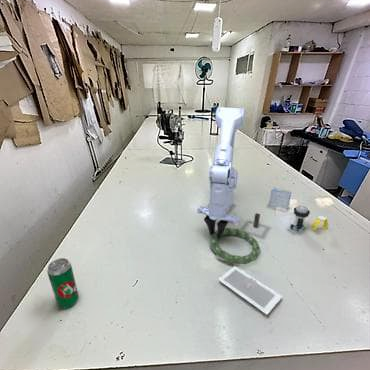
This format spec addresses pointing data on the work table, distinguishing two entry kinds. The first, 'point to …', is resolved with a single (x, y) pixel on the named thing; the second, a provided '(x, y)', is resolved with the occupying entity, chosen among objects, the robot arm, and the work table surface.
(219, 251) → the ring
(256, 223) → the peg
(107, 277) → the work table surface
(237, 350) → the work table surface
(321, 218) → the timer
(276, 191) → the medicine box
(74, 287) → the soda can
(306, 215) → the push button
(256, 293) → the touchpad
